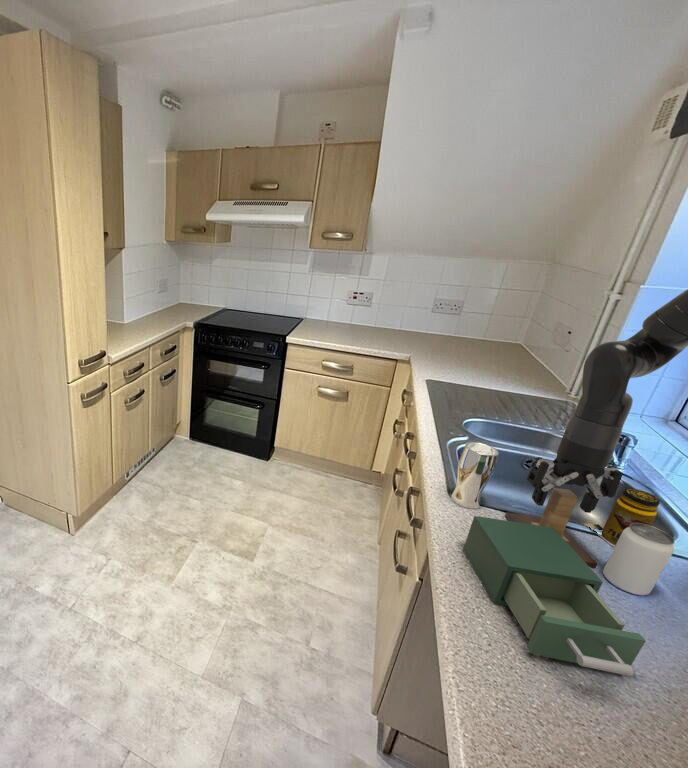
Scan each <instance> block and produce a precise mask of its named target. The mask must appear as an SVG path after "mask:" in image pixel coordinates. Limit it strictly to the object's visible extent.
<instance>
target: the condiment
mask: <svg viewBox="0 0 688 768" xmlns="http://www.w3.org/2000/svg"><path fill="white" fill-rule="evenodd" d="M660 504H661V500H660V499H659V498H658V497H657V496H656V495H655V494H652V493H650V492H648V491H645V490H643V489H642V490H641V489H638V488H625V489H624V490H622V494H621V495H620V497H618V498H616V501H615V503H614V505H613V507H612V509H611V511H610V513H609V515H608V517H607V518H606V522H605V523H604V526H603V527H602V526H601V525H600V524H599V523H597V524H596V523H583V525H584V526H586V527H587V528H589V527H590V528H596V529H598V530H603V531H602V535H600V534H598V533H596V532H594V533H595V534H596V535H598V537H600V538H601V539H602V540H604V541H605V542H606V543H607V544H609V545H611V547H612V548H613V549H614V548H615V546H616V544H617V542H618V540H619V538H620V536H621V534H622V532H623V530H624V529H626V528H627V527H629V526H630V524H631V523H642V524H646V525H650V526H653V524H654V522H655V520H656V517H657V515H658V512H657V510H658V507H659V505H660ZM590 528H589V529H590ZM593 530H595V529H591V531H593Z"/></svg>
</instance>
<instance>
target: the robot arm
mask: <svg viewBox="0 0 688 768" xmlns="http://www.w3.org/2000/svg"><path fill="white" fill-rule="evenodd" d="M687 347H688V288H687V289H685V290H684V291H682V292H681V293H679V294H677V296H675V297H674V298H672V299H671V300H669V301H668V302H666V303H665V304H663V305H662V306H661V307H659V308H658V309H657V310H655V311H653V312H652V313H651V314H649V315H648V316H647V317H646V318H645V319H644V320H643V322H642V328H641V329H640V330H639V331H638V332H636V333H635V334H634V335H632V336H630V337H629V338H627V339H625V340H616V341H615V340H613V341H606V342H603V343H600V344H598V345H596V346H595V347H594V348H593V349H592V350H591V351H590V352H589V353H588V355H587V356H586V358H585V361H584V364H583V368H582V379H581V380H582V381H581V395H580V397H579V400H578V401H577V404H576V406H575V410H574V412H573V413H572V415H571V417H570V419H569V421H568V422H567V425H566V428H565V430H564V432H563V435H562V438H561V440H560V442H559V445H558V448H557V450H556V458H555V459H553V460H548V459H547V460H546V459H543V457H540V456H538V457H536V458H535V459H534V462H533V464H532V466H531V469H530V470H529V473H528V475H527V477H526V481H527V482H528V483H529V484H530V485H531V486H532V487H533V488H534V490H533V493H532V495H531V499H532V501H533V502H534V503H535V504H536V506H538V507H543V506H544V504H545V502H546V499H547V497H548V494H549V491H550V490H553V488H559V487H561V486H562V485H564V484H565V485H576V486H578V487H584V486H585V488H586V490H587V491H586V492H584V495H583V497H582V499H581V502H580V504H579V508H580V509H581V510H582V511H583V512H584V513H588V514H591V512H593V511H594V510H595V509H596V507H597V505H598V502H599V501H600V499H603V498H604V497H608V498H609V499H610V498H614V497H615V496H616V493H617V491H618V488H619V486H620V483H621V480H622V477H623V472H621V470H619V469H618V468H616V467H615V466H613V465H609V463H610V461H611V459H612V456H613V455H614V452H615V450H616V447H617V445H618V444H619V441H620V439H621V436H622V433H623V428H624V425H625V423H626V421H627V418H628V416H629V414H630V411H631V410H632V407H633V401H634V400H633V397H632V396H631V394H629V393H627V390H628V385H629V382H630V380H631V379H637V378H641V377H644V376H647V375H649V374H652V373H654V372H656V371H657V370H659V369H661V368H662V367H664V366H665V365H667V364H668V363H670V361H672V360H673V359H674V358H675V357H677V356H678V355H680V353H682V352H683V351H684V350H685V349H686V348H687ZM555 477H556V478H555ZM601 477H602V479H601V481H600V485H599V484H598V481H597V479H600V478H601Z"/></svg>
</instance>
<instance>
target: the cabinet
mask: <svg viewBox="0 0 688 768" xmlns="http://www.w3.org/2000/svg"><path fill="white" fill-rule="evenodd" d="M471 522H472V523H471V524H470V528H469V530H468V534H467V537H466V539H465V542H464V546H463V548H462V552H463V553H464V554H465V556H466V558H467V560H468V562H469V563H470V565H471V567H472V568H473V570H474V572H475V574H476V575H477V577H478V579H479V581H480V583H481V584H482V586H483V588H484V590H485V591H486V593H487V594H488V596H489V598H490V600H491V602H492V603H493V604H494V605H499V606H505V607H509V606H508V604H507V603H506V601H505V599H504V598H503V594H504V591H505V589H506V586H507V584H508V581H509V579H510V576H511V574H512V571H517V572H523V573H529V574H535V575H541V576H546V577H552V578H558V579H564V580H570V581H576V582H581V583H587V584H589V585H590V586H591V587H592V588H593V589H594V591H595V592H596V593H597V594H598V593H599V591H600V589H601V587H602V585H603V583H604V581H602V579H601V578H600V577H599V576H598V575H597V573H595V571H594V570H593V568H592V567H589V566H588V565H587V564H586V563H585V562H584V561H583V560H582V559H581V557H580V556H579V555H578V554H577V553H576V552H575V551H574V550H573V549H572V548H571V547H570V546H569V544H568V543H567V542H566V541H565V540H564V539H563V538H562V537H561V536H560V535H559V534H558V533H557V531H556V530H555V529H554V528H553V527H546V526H539V525H533V524H526V523H519V522H512V521H508V520H505V519H497V518H491V517H485V516H478V515H474V516H473V518H472V521H471Z"/></svg>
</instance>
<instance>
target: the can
mask: <svg viewBox="0 0 688 768" xmlns="http://www.w3.org/2000/svg"><path fill="white" fill-rule="evenodd" d="M674 544H675V539H674V537H673V536H672V535H670V534H669V533H668V532H665V531H664V530H662V529H660V528H658V527H655V526H653V525H651V526H650V525H646V524H642V523H631V524H630V526H629V527H627V528H626V529H624V530H623V532H622V534H621V536H620V538H619V540H618V541H617V544H616V546H615V548H614V547H613V550H612V552H611V554H610V556H609V557H608V559H607V562H606V564H605V565H604V568H603V570H602V574H603V576H604V578H605V579H606V580H607V582H609V583H610V584H611V585H612V586H614V587H616V588H618V589H619V590H621V591H622V592H623V591H624V592H626V593H628V594H631V595H635V596H648V595H650V594H651V593H652V591H653V589H654V587H655V585H656V583H657V582H658V581H659V578H660V577H661V575H662V573H663V572H664V570H665V568H666V566H667V564H668V563H669V561H670V559H671V557H672V556H673V554H674V551H675V546H674Z"/></svg>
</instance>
